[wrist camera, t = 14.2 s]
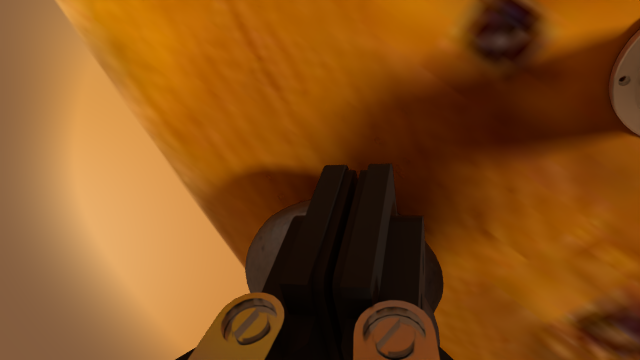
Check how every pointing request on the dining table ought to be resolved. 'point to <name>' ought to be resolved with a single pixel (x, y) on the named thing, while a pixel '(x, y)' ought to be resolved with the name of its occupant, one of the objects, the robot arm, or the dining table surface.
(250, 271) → the pitcher
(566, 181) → the dining table surface
